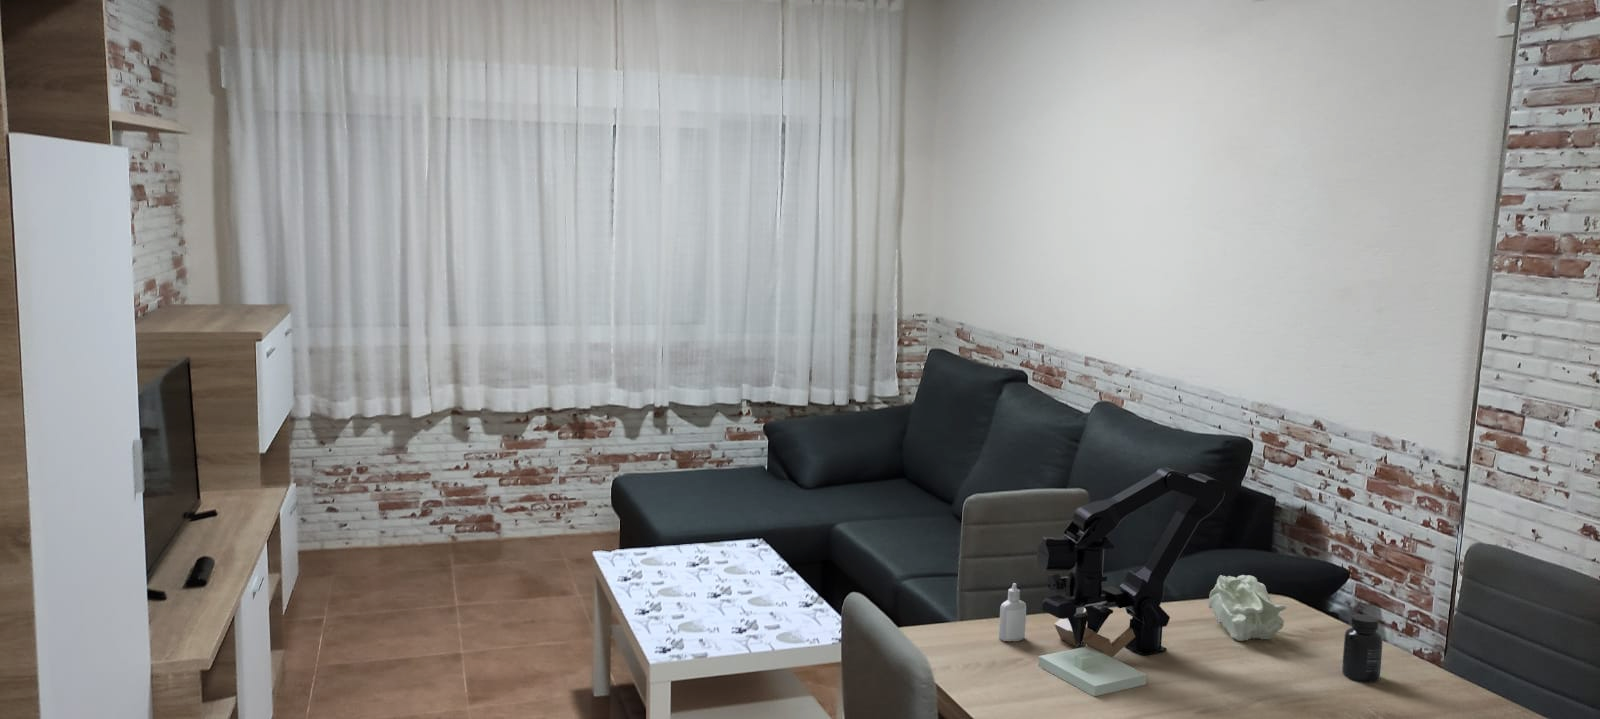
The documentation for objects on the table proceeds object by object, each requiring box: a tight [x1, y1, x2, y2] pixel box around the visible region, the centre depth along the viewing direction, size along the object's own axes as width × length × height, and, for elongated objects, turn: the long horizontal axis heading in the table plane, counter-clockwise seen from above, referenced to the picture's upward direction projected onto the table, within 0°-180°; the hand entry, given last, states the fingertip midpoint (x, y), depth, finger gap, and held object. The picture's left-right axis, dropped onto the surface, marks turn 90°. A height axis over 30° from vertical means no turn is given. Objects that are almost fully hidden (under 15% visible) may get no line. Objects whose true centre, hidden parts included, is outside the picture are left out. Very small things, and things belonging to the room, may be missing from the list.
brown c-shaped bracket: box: [1054, 607, 1135, 658], centre depth 240 cm, size 8×14×4 cm, turn 28°
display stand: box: [1037, 645, 1147, 697], centre depth 226 cm, size 13×16×4 cm
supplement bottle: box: [1341, 614, 1384, 683], centre depth 229 cm, size 7×7×12 cm
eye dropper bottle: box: [998, 582, 1027, 643], centre depth 244 cm, size 4×6×12 cm
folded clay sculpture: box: [1208, 574, 1287, 642], centre depth 252 cm, size 18×13×16 cm
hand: (1084, 642), depth 238 cm, fingers closed on brown c-shaped bracket, 3 cm apart
